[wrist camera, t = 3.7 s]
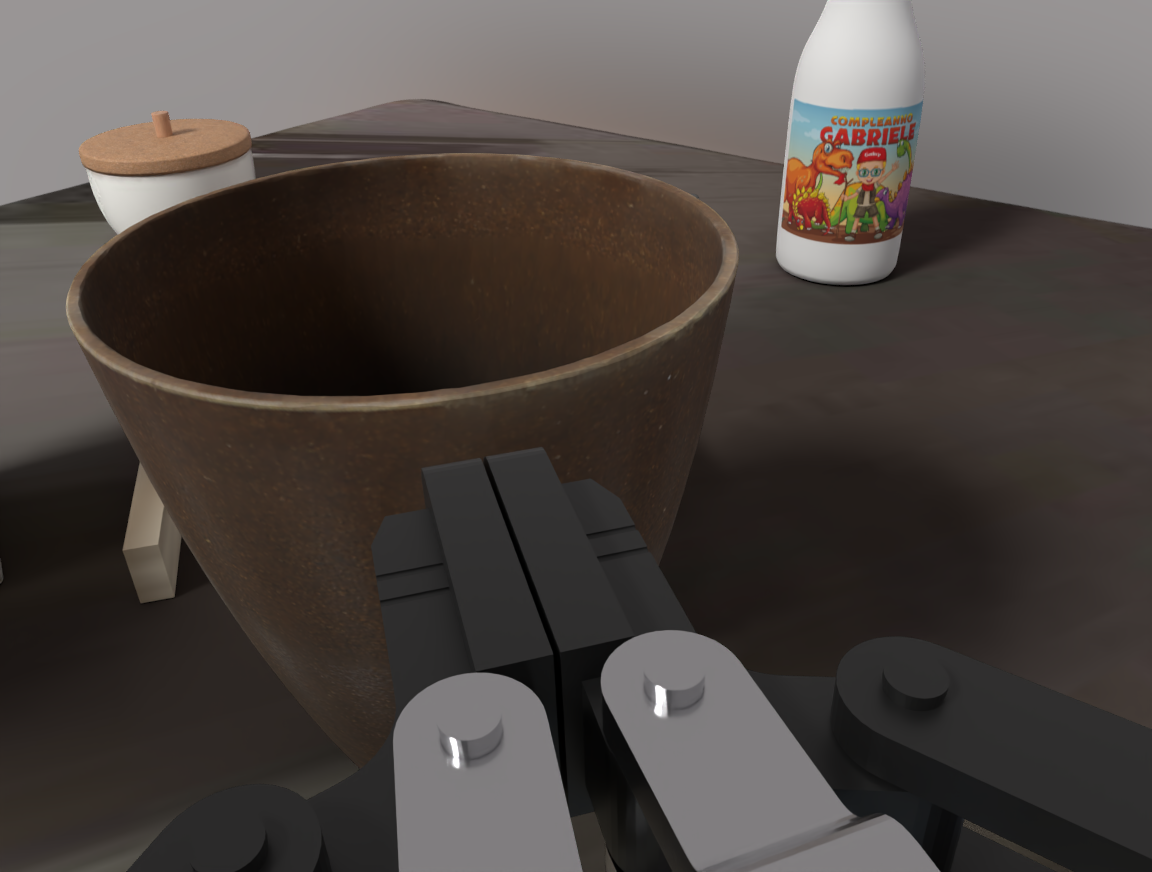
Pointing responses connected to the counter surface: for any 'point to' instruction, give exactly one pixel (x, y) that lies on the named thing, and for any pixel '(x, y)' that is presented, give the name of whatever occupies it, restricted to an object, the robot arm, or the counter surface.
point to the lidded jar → (163, 165)
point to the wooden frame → (151, 544)
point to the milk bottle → (851, 143)
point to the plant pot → (397, 372)
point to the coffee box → (1, 573)
